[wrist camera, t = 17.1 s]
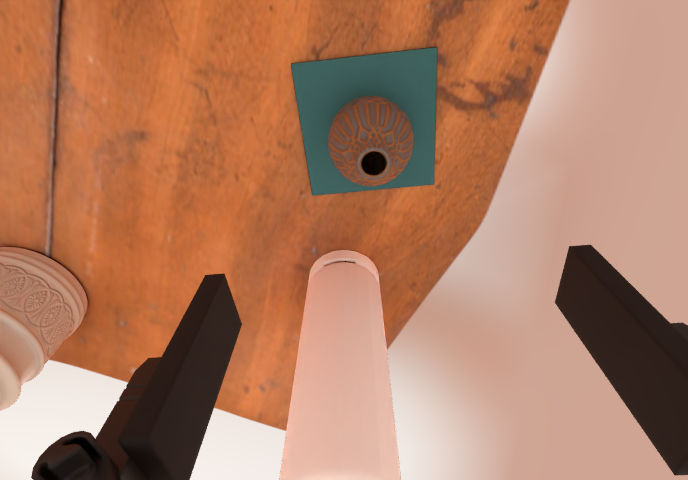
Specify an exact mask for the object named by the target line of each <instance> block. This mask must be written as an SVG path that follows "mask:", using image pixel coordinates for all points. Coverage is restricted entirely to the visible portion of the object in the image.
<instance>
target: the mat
mask: <svg viewBox="0 0 688 480" xmlns="http://www.w3.org/2000/svg"><path fill="white" fill-rule="evenodd" d="M291 69H292V75H293V81H294V87H295V93H296V99H297V105H298V111H299V117H300V123H301V129H302V135H303V141H304V147H305V154H306V160H307V166H308V172H309V178H310V184H311V190H312V195H324V194H335V193H346V192H357V191H368V190H378V189H389V188H400V187H411V186H422V185H433V184H434V164H435V123H436V81H437V47H431V48H423V49H414V50H405V51H397V52H388V53H379V54H371V55H362V56H353V57H345V58H336V59H327V60H319V61H310V62H301V63H293V64H291ZM362 96H380V97H384V98H386V99H389V100H391V101H392V102H394V103H395V104H397V105H398V106H399V107H400V108H401V109H402V110H403V112H404V113H405V114H406V116H407V117H408V119H409V121H410V124H411V127H412V130H413V138H414V142H413V150H412V154H411V157H410V159H409V162H408V164H407V165H406V167H405V168H404V170H403V171H402V172H401V173H400V174H399V175H398V176H397V177H396V178H394V179H393V180H391V181H389V182H387V183H385V184H382V185H377V186H363V185H359V184H356V183H354V182H352V181H350V180H348V179H347V178H346V177H344V176H343V175H342V174H341V173H340V172H339V171H338V169H337V168H336V166H335V165H334V163H333V161H332V159H331V156H330V153H329V147H328V136H329V130H330V127H331V124H332V121H333V119H334V118H335V116H336V114H337V113H338V112H339V110H340V109H341V108H342V107H343V106H344V105H346V104H347V103H348V102H350V101H352V100H354V99H356V98H359V97H362Z"/></svg>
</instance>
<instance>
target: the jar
mask: <svg viewBox="0 0 688 480" xmlns="http://www.w3.org/2000/svg"><path fill="white" fill-rule="evenodd" d="M87 307H88V302H87V297H86V294H85V292H84V289H83V288H82V286H81V285H80V283H79V282H78V280H77V279H76V278H75V277H74V276H73V275H72V274H71V273H70V272H69V271H68V270H67V269H65V268H64V267H63V266H61V265H60V264H58V263H57V262H55V261H54V260H52V259H50V258H48V257H46V256H44V255H42V254H39V253H36V252H34V251H30V250H27V249H22V248H16V247H0V411H1V410H4V409H6V408H8V407H10V406H11V405H12V404H13V403H15V402H16V400H17V399H18V397H19V395H20V392H21V386H22V385H23V384H24V383H25V382H27V381H30V380H32V379H33V378H35V377H36V376H37V375H38V374H39V373H40V372H41V371H42V369H43V367H44V364H45V363H46V362H47V361H48V360H49V358H50V357H51V356H52V355H53V354H54V353H55V351H56V350H57V349H58V348H59V347H60V346H61V344H62V343H63V342H64V341H65V340H66V338H67V337H69V336H70V335H72V334H73V333H74V332H75V330H76V329H77V328H78V327H79V325H80V324H81V322H82V320H83V317H84V316H85V314H86V312H87Z"/></svg>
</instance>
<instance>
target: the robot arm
mask: <svg viewBox="0 0 688 480" xmlns="http://www.w3.org/2000/svg"><path fill="white" fill-rule="evenodd" d="M555 303H556V305H557V306H558V307H559V309H560V311H561V312H562V313H563V315H564V316H565V318H566V319H567V321H568V322H569V324H570V325H571V327H572V328H573V329H574V331H575V332H576V334H577V335H578V337H579V338H580V340H581V341H582V342H583V344H584V345H585V347H586V348H587V350H588V351H589V353H590V354H591V355H592V357H593V358H594V360H595V361H596V363H597V364H598V365H599V367H600V368H601V370H602V371H603V373H604V374H605V376H606V377H607V378H608V380H609V381H610V383H611V384H612V386H613V387H614V389H615V390H616V391H617V393H618V394H619V396H620V397H621V399H622V400H623V401H624V403H625V404H626V406H627V407H628V409H629V410H630V412H631V413H632V415H633V416H634V417H635V419H636V420H637V422H638V423H639V424H640V426H641V427H642V429H643V430H644V432H645V433H646V435H647V436H648V437H649V439H650V440H651V442H652V443H653V445H654V446H655V448H656V449H657V451H658V452H659V453H660V455H661V456H662V458H663V459H664V460H665V462H666V463H667V465H668V466H669V468H670V469H671V471H672V472H673V474H674V475H688V325H686V324H684V323H671V324H670V323H669V322H668V321H667V320H666V319H665V318H664V317H663V316H662V315H661V314H660V313H659V312H658V311H657V310H656V309H655V308H654V307H653V306H652V305H651V304H650V303H649V302H648V301H647V300H646V299H645V298H644V297H643V296H642V295H641V294H640V293H639V292H638V291H637V290H636V289H635V288H634V287H633V286H632V285H631V284H630V283H629V282H628V281H627V280H626V279H625V278H624V277H623V276H622V275H621V274H620V273H619V272H618V271H617V270H616V269H615V268H614V267H613V266H612V265H611V264H610V263H609V262H608V261H607V260H606V259H605V258H603V256H602V255H601V254H600V253H599V252H598V251H597V250H595V249H594V248H593V247H592V246H591V245H582V246H569V249H568V253H567V257H566V261H565V265H564V269H563V273H562V277H561V281H560V285H559V289H558V292H557V296H556V300H555ZM241 325H242V323H241V320H240V318H239V315H238V312H237V309H236V306H235V303H234V300H233V297H232V294H231V291H230V288H229V286H228V283H227V280H226V277H225V274H213V275H205V277H204V279H203V281H202V283H201V284H200V286H199V288H198V290H197V292H196V294H195V296H194V298H193V299H192V301H191V303H190V305H189V307H188V309H187V311H186V313H185V314H184V316H183V318H182V320H181V322H180V324H179V326H178V328H177V329H176V331H175V333H174V335H173V337H172V339H171V341H170V343H169V344H168V346H167V348H166V350H165V352H164V354H163V356H162V357H158V358H148V359H147V360H146V361H145V362H144V363H143V364H142V365H141V366H140V367H139V368H138V369H137V370H136V371H135V372H134V374H133V376H132V377H131V379H130V381H129V383H128V384H127V388H126V389H125V390H124V391H123V393H122V395H121V396H120V398H119V399H120V400H119V401H117V403H116V405H115V406H114V408H113V410H112V412H111V413H110V415H109V417H108V418H107V420H106V422H105V424H104V425H103V427H102V429H101V431H100V432H99V434H98V436H97V437H96V439H95V438H94V437H93V435H92V434H91V433H88V432H85V431H79V432H73V433H71V434H68V435H66V436H64V437H62V438H60V439H59V440H57V441H56V442H55V443H53V444H52V445H51V446H49V447H48V448H47V450H45V452H44V453H43V454H42V455H41V456H40V457H39V459H38V461H37V463H36V464H35V466H34V467H33V472H32V477H31V478H32V479H34V480H189V479H190V476H191V474H192V470H193V468H194V465H195V461H196V459H197V456H198V453H199V450H200V447H201V444H202V441H203V438H204V435H205V432H206V429H207V426H208V423H209V420H210V417H211V414H212V411H213V408H214V405H215V402H216V399H217V396H218V394H219V391H220V388H221V385H222V382H223V379H224V376H225V373H226V370H227V367H228V364H229V361H230V358H231V355H232V352H233V349H234V346H235V343H236V340H237V337H238V334H239V331H240V328H241Z"/></svg>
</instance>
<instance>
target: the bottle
mask: <svg viewBox="0 0 688 480" xmlns="http://www.w3.org/2000/svg"><path fill="white" fill-rule="evenodd" d="M337 261H350V262H355V263H356V264H355V263H348V262H339V263H332V262H337ZM330 263H332V264H330ZM327 264H330V265H327ZM324 265H327V266H324ZM279 480H401V476H400V466H399V457H398V448H397V439H396V430H395V420H394V411H393V402H392V393H391V384H390V376H389V366H388V357H387V348H386V339H385V330H384V321H383V311H382V302H381V293H380V284H379V275H378V270H377V268H376V266H375V264H374V263H373V262H372V261H371V260H370V259H369V258H368V257H367V256H365V255H363V254H361V253H358V252H356V251H350V250H337V251H332V252H329V253H327V254H324V255H323V256H321V257H320V258H319V259H318V260H316V261H315V263H314V264H313V266H312V268H311V269H310V275H309V281H308V289H307V295H306V302H305V308H304V315H303V322H302V329H301V336H300V342H299V349H298V356H297V363H296V369H295V376H294V383H293V390H292V397H291V403H290V410H289V417H288V424H287V431H286V437H285V444H284V451H283V458H282V465H281V471H280V478H279Z"/></svg>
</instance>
